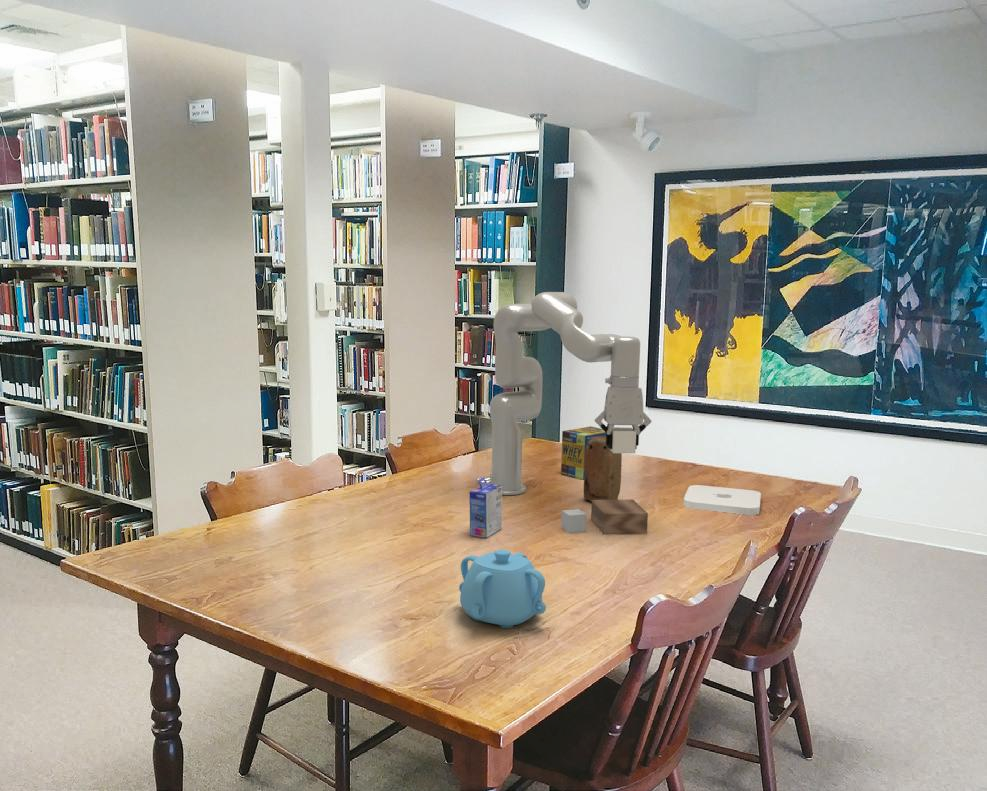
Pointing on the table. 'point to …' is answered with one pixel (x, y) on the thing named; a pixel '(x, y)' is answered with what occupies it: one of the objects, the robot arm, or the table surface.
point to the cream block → (623, 440)
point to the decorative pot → (501, 588)
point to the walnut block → (619, 516)
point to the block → (601, 471)
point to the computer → (723, 499)
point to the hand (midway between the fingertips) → (621, 447)
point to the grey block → (573, 521)
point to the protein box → (576, 449)
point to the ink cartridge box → (485, 509)
